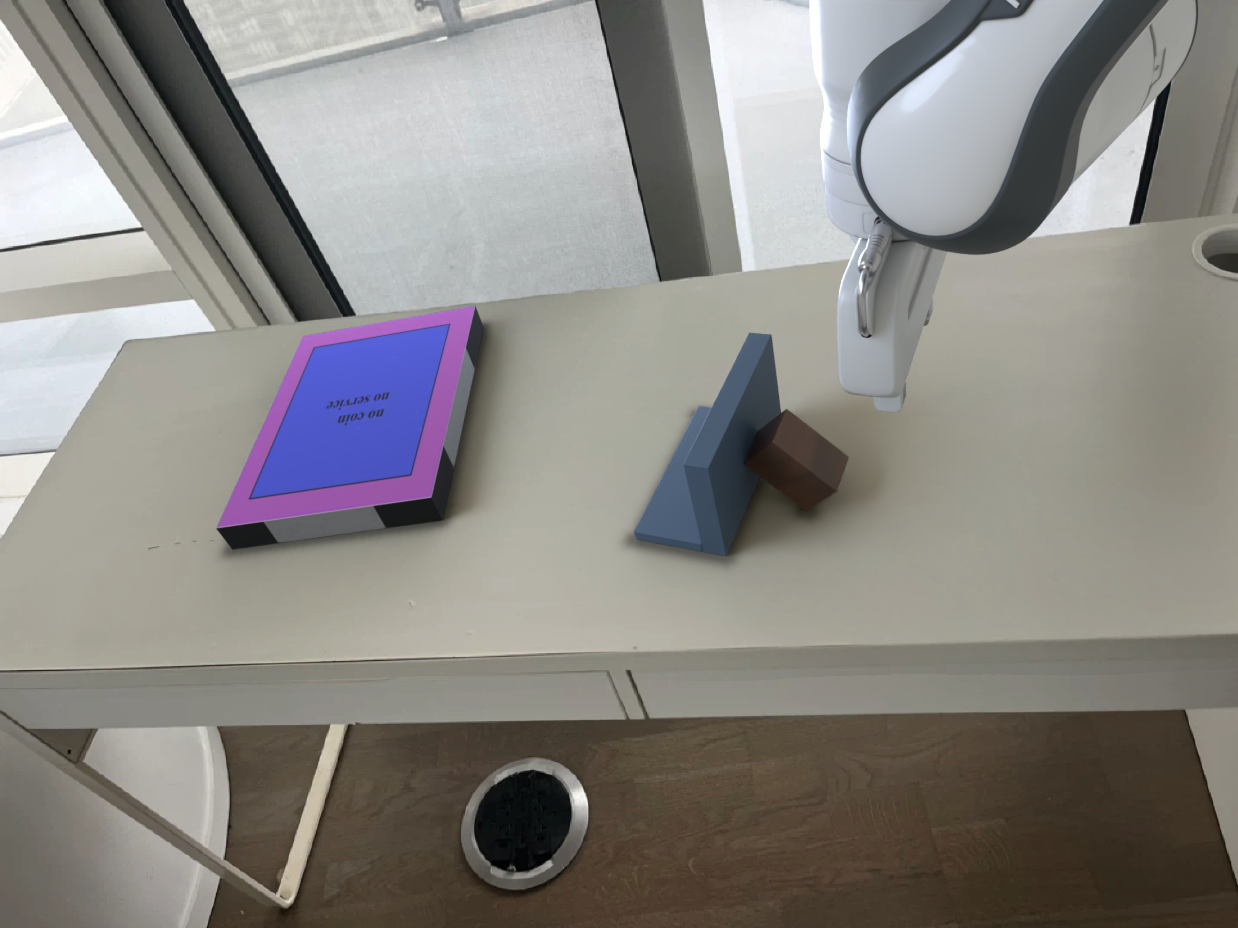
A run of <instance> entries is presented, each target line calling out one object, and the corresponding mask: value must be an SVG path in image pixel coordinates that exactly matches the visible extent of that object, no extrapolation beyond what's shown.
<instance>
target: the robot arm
mask: <svg viewBox="0 0 1238 928" xmlns="http://www.w3.org/2000/svg"><path fill="white" fill-rule="evenodd" d="M809 18H810V36H811V46H812V47H811V49H812V60H813V69H814V70H813V71H814V73H815V77H816V79H817V81H818V84H819V87H820V89H821V92H822V96H823V106H824V108H823V109H824V110H823V118H822V120H821V126H820V132H819V134H820V135H819V138H820V139H819V142H820V151H821V152H820V153H821V164H822V166H821V167H822V175H823V176H822V178H823V186H824V199H825V209H826V215H827V219H828V220H829V221H830V224H832V225H833V226H834V227H835V228H836V229H838V230H839V231H841V232H842V233H845V234H847V235H849V237H850V239H851V241H852V242H853V243H854V244H855V248H854V250H853V252H852V254H851V257H850V259H849V262H848V263H847V266H846V269H845V271H844V274H843V275H842V279H841V282H840V285H839V290H838V295H837V296H838V297H837V305H836V306H837V308H836V335H837V336H836V337H837V339H836V342H837V343H836V344H837V346H836V347H837V368H838V369H837V370H838V372H837V373H838V381H839V385H840V387H841V389H843V391H844V392H845V393H847V394H849V395H852V396H860V397H868V398H873V406H874V409H875V410H877V411H879V412H884V413H894V414H897V413H900V412H901V411H902V409H903V408H904V404H905V401H906V396H907V380H908V375H909V372H910V370H911V366H912V364H913V361H914V357H915V354H916V351H917V347H918V344H919V341H920V338H921V336H922V332H923V328H924V327H926V326H928V324H929V323H930V320H931V317H932V314H933V311H934V294H935V291H936V288H937V285H938V283H939V278H940V275H941V273H942V270H943V265H944V263H945V260H946V256H947V253H953V254H958V255H959V254H960V255H968V256H969V255H971V256H980V255H981V256H982V255H984V256H985V255H991V254H997V253H1000V252H1003V251H1008V250H1009V249H1011V248H1013V247H1016V246H1017V245H1019V244H1021V243H1022V242H1024V241H1026V240H1027V239H1028V238H1030V236H1032V235H1033V234H1034V233H1035V232H1036V231H1037V230H1038V228H1040V226H1041V225H1042V224H1043V222H1044V221H1045V220H1046V219H1047V218H1048V217H1049V215H1050V214H1051V213H1052V211H1053V210H1054V209H1055V208H1056V207H1057V206H1058V204H1059V203H1060V201H1061V200H1062V199H1063V198H1064V196H1065V195H1066V194H1067V193H1068V191H1069V189H1070V187H1071V186H1072V185H1073V184H1074V183H1075V182H1076V181H1078V179H1079V178H1080V177H1081V176H1082V175H1083V174H1085V172H1086V171H1087V170H1088V169H1089V168H1090V167H1091V166H1092V165H1093V164H1094V163H1095V162H1096V161H1097V160H1098V159H1099V158H1100V157H1101V155H1103V153H1105V151H1106V150H1107V149H1108V148H1109V147H1110V146H1112V144H1113V143H1114V142H1115V141H1117V139H1118V138H1119V137H1120V136H1121V135H1122V134H1123V133H1124V132H1125V131H1126V130H1127V129H1128V127H1130V125H1132V124H1133V123H1134V122H1135V121H1136V119H1138V118H1139V116H1140V115H1141V114H1142V113H1143V112H1145V110H1147V108H1149V106H1150V105H1151V104H1152V103H1153V101H1155V99H1156V98H1157V97H1159V95H1160V94H1161V93H1162V91H1164V89H1165V88H1166V87H1167V86H1168V85H1169V84H1170V82H1172V80H1173V79H1174V78H1175V77H1176V76H1177V74H1178V73H1179V72H1180V71H1181V69H1182V68H1183V66H1184V65H1185V63H1186V61H1187V59H1188V57H1189V55H1190V53H1191V50H1192V48H1193V44H1194V42H1195V39H1196V34H1197V30H1198V21H1199V1H1198V0H809Z"/></svg>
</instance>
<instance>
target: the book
mask: <svg viewBox="0 0 1238 928" xmlns="http://www.w3.org/2000/svg"><path fill="white" fill-rule="evenodd" d="M483 332H484V325H483V322H482V320H481V316H480V314H479V311H478V309H477V306H476V305H469V306H464V307H460V308H453V309H448V310H442V311H437V312H430V313H425V314H418V315H413V316H408V317H402V318H396V319H391V320H385V321H380V322H375V323H374V322H373V323H369V324H363V325H357V326H350V327H346V328H340V329H335V330H328V331H322V332H317V333H312V334H305V335H302V336H301V339H300V340H299V343H298V345H297V347H296V349H295V352H294V354H293V356H292V359H291V361H290V363H289V365H288V368H287V370H286V372H285V374H284V377H283V378H282V381H281V383H280V385H279V386H278V390H277V391H276V394H275V397H274V399H273V401H272V403H271V406H270V407H269V409H268V412H267V414H266V416H265V418H264V421H263V423H262V425H261V428H260V430H259V432H258V433H257V436H256V439H255V441H254V443H253V445H252V448H251V449H250V452H249V454H248V456H247V459H246V461H245V463H244V465H243V468H242V469H241V472H240V474H239V477H238V479H237V481H236V483H235V485H234V487H233V489H232V491H231V494H230V496H229V498H228V501H227V503H226V505H225V507H224V510H223V511H222V514H221V517H220V518H219V520H218V523H217V525H216V527H215V529H216V531H217V532H218V533H219V534H220V536H221V537H222V538H223V540H224V541H225V542H226V543H227V545H228V546H229V547H230V549H231V550H238V549H245V548H253V547H259V546H267V545H274V544H281V543H288V542H289V543H290V542H296V541H303V540H310V539H317V538H325V537H331V536H338V535H347V534H354V533H361V532H368V531H376V530H382V529H389V528H396V527H403V526H410V525H411V526H412V525H418V524H425V523H432V522H440V521H443V520H444V518H445V513H446V512H445V511H446V507H447V502H448V498H449V493H450V490H451V489H450V488H451V484H452V480H453V474H454V471H455V465H456V460H457V456H458V451H459V446H460V441H461V438H462V437H461V436H462V431H463V427H464V422H465V418H466V413H467V407H468V404H469V399H470V394H471V389H472V385H473V380H474V374H475V370H476V365H477V360H478V355H479V351H480V346H481V343H482V342H481V341H482V336H483Z"/></svg>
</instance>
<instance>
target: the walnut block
mask: <svg viewBox="0 0 1238 928" xmlns="http://www.w3.org/2000/svg"><path fill="white" fill-rule="evenodd" d="M849 458H850V457H849V456H848V455H847V454H846V453H845V452H844V451H842V450H841V449H839V448H838V447H837V446H835V445H834V444H833V443H832V442H830V441H829V440H828V439H827V438H825V437H824V436H823V435H822V434H820V433H819V432H818V431H817V430H815V429H813V428H812V426H810V425H808V424H807V423H806V422H804V420H802V419H801V418H800V417H799V416H797V415H796V414H795V413H793V411H790V410H789V409H788V408H785V410H783V411H781V413H780V414H779V415H778V416H777V417H775V418H774V419H773V420H771V421H770V422H769V423H767V424H766V425H765V426H764V427H762V428H761V429H760V430H758V432H757V434H756V436H755V438H754V441H753V443H752V445H751V447H750V450H749V452H748V454H747V457H746V459H745V461H744V463H743V464H744V465H745V466H747V467H748V468H749V469H751V470H752V471H753V472H754V473H756V474H757V475H758V476H760V477H759V478H761V479H762V480H763V481H765V482H766V483H768V484H769V485H770V486H772V487H773V488H774V489H775V490H777V491H778V492H779V493H781V494H782V495H784V497H786V498H787V499H789V500H790V501H791V502H793V503H794V504H795V505H796V506H798V507H800V508H801V509H802V510H803V511H805V512H807V511H809V510H810V509H811V508H813V507H814V506H816V505H818V504H819V503H821V502H823V501H824V500H826V499H828V498H829V497H831V496H833V495H834V494H836V493H837V492H838V490H839V487H840V485H841V482H842V479H843V475H844V472H845V469H846V467H847V464H848V461H849Z"/></svg>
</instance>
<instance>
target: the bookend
mask: <svg viewBox="0 0 1238 928" xmlns="http://www.w3.org/2000/svg"><path fill="white" fill-rule="evenodd" d="M773 342H774V341H773V335H772V333H762V332H761V333H760V332H748V333H747V336H746V337H745V340H744V341H743V344H742V346H741V347H740V350H739V352H738V354H737V356H736V357H735V359H734V362H733V364H732V366H731V368H730V370H729V371H728V373H727V375H726V378H725V380H724V382H723V383H722V386H721V387H720V390H719V391H718V393H717V395H716V398H715V399H714V402H713V403H712V406H705V405H697V407H696V409H695V411H694V414H693V416H692V417H691V420H690V421H689V423H688V425H687V427H686V429H685V431H684V433H683V435H682V437H681V439H680V440H679V443H678V445H677V446H676V448H675V451H674V453H673V454H672V456H671V459H670V460H669V462H668V465H667V466H666V468H665V470H664V472H663V474H662V476H661V478H660V480H659V482H658V484H657V485H656V487H655V489H654V491H653V493H652V495H651V498H650V499H649V501H648V503H647V505H646V507H645V509H644V511H643V513H642V514H641V517H640V519H639V521H638V522H637V525H636V526H635V529H634V531H633V533H634V537H635V539H636V540H639V541H644V542H649V543H653V544H654V543H655V544H659V545H660V544H661V545H664V546H671V547H676V548H681V549H687V550H692V551H698V552H703V553H707V554H713V555H718V556H723V557H727V556H728V553H729V551H730V549H731V546H732V544H733V542H734V539H735V536H736V535H737V532H738V529H739V527H740V526H741V523H742V520H743V518H744V515H745V513H746V510H747V508H748V506H749V503H750V501H751V499H752V497H753V494H754V491H755V489H756V487H757V484H758V483H759V480H760V478H761V477H760V476H758V475H757V474H756V473H754V472H753V471H752V470H751V469H749V468H748V467H747V466H745V465H744V464H743V463H744V461H745V459H746V457H747V454H748V452H749V450H750V447H751V445H752V443H753V441H754V438H755V436H756V434H757V432H758V430H760V429H761V428H762V427H764V426H765V425H766V424H767V423H769V422H770V421H771V420H773V419H774V418H775V417H777V416H778V415H779V414H780V413H782V409H781V407H782V406H781V400H780V392H779V384H778V375H777V368H776V359H775V351H774V343H773Z"/></svg>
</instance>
